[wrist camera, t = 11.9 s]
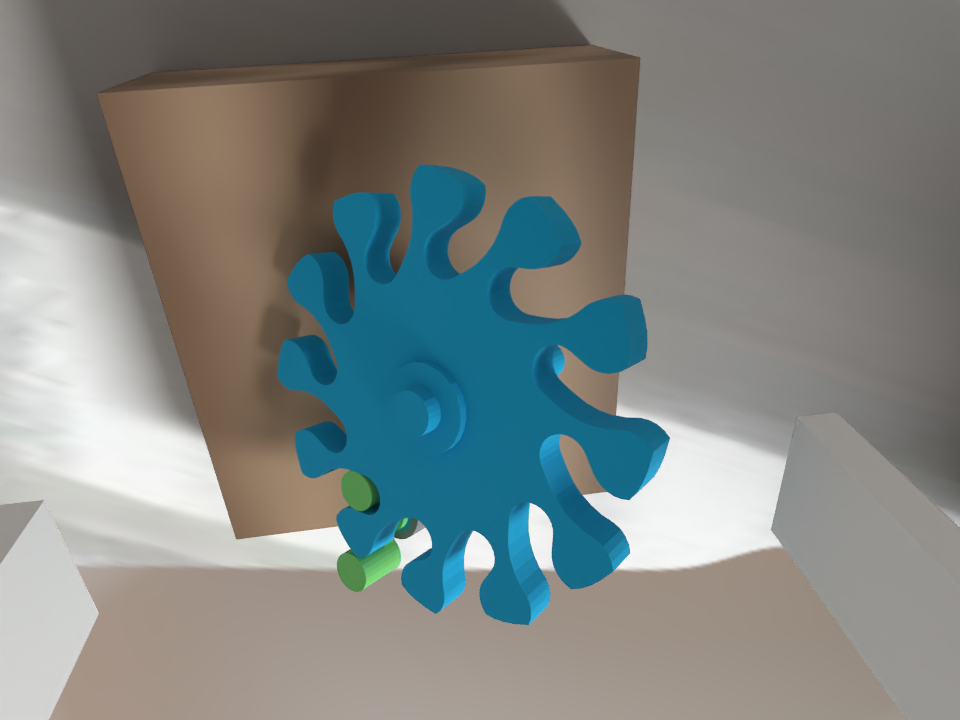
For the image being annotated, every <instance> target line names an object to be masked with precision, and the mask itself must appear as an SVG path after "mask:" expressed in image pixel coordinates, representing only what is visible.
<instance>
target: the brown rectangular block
mask: <svg viewBox="0 0 960 720" xmlns="http://www.w3.org/2000/svg"><path fill="white" fill-rule="evenodd" d="M639 67H640V58H639V57H635V56H632V55H628V54H624V53H620V52H617V51H613V50H609V49H605V48H601V47H598V46H594V45H582V46H566V47H550V48H534V49H518V50H503V51H487V52H471V53H455V54H439V55H424V56H408V57H392V58H376V59H360V60H345V61H329V62H313V63H297V64H281V65H266V66H250V67H234V68H218V69H202V70H187V71H171V72H155V73H150V74H147V75H144V76H142V77H139V78H136V79H134V80H131V81H128V82H126V83H123V84H120V85H118V86H115V87H112V88H110V89H107V90H104V91H102V92H99V93H97V96H98V100H99V103H100V106H101V109H102V112H103V116H104V119H105V122H106V125H107V128H108V132H109V135H110V138H111V141H112V144H113V147H114V151H115V154H116V157H117V160H118V163H119V167H120V170H121V173H122V176H123V179H124V183H125V186H126V189H127V192H128V195H129V199H130V202H131V205H132V208H133V211H134V215H135V218H136V221H137V224H138V227H139V230H140V234H141V237H142V240H143V243H144V246H145V250H146V253H147V256H148V259H149V262H150V266H151V269H152V272H153V275H154V278H155V282H156V285H157V288H158V291H159V294H160V298H161V301H162V304H163V307H164V310H165V313H166V317H167V320H168V323H169V326H170V329H171V333H172V336H173V339H174V342H175V345H176V349H177V352H178V355H179V358H180V361H181V365H182V368H183V371H184V374H185V377H186V380H187V384H188V387H189V390H190V393H191V396H192V400H193V403H194V406H195V409H196V412H197V416H198V419H199V422H200V425H201V428H202V432H203V435H204V438H205V441H206V444H207V448H208V451H209V454H210V457H211V460H212V463H213V467H214V470H215V473H216V476H217V479H218V483H219V486H220V489H221V492H222V495H223V499H224V502H225V505H226V508H227V511H228V515H229V518H230V521H231V524H232V527H233V531H234V534H235V537H236V539H243V538H251V537H258V536H266V535H274V534H282V533H289V532H297V531H305V530H313V529H320V528H328V527H336V526H338V524H337V521H336V517H337V514H338V513H339V511H341V510H342V509H344V508H346V507H348V506H349V505H348V503H347V502H346V500H345V499H344V497H343V494H342V490H341V480H342V477H343V475H344V474H345V473H346V472H348V471H350V470H348V469H341V468H339V469H336V470H334V471H332V472H329V473H327V474H325V475H323V476H320V477H318V478H309V477H306V476H305V475H304V474H302V471H301V468H300V464H299V461H298V456H297V452H296V445H295V433H296V432H297V431H299V430H302V429H304V428H307V427H310V426H313V425H316V424H319V423H322V422H324V421H330V422H333V423H335V424H336V425H338V426H339V427H340V428H341V429H342V430H343V432H344V433H345V434H346V430H345V427H344V425H343V423H342V422H341V420H340V419H339V418H338V417H337V415H336V414H335V413H334V412H333V411H332V410H331V409H330V408H329V407H328V406H327V405H326V404H325V403H324V402H323V401H322V400H320V399H319V398H317V397H316V396H314V395H312V394H310V393H308V392H304V391H293V390H290V389H288V388H286V387H285V386H284V385H283V384H282V383H281V382H280V380H279V379H278V377H277V373H278V361H279V354H280V351H281V347H282V345H283V342H284V340H287V339H292V338H297V337H301V336H306V335H316V336H318V337H320V338H321V339H322V340H323V341H324V342H325V343H326V345H327V346H328V348H329V350H330V353H331V356H332V358H333V361H334V363H335V366H336V368H337V362H336V359H335V356H334V353H333V351H332V348H331V345H330V343H329V341H328V338H327V336H326V334H325V332H324V330H323V329H322V327H321V325H320V324H319V322H318V321H317V320H316V319H315V317H314V316H313V315H312V314H311V313H310V312H309V311H308V310H307V309H306V308H304V307H303V306H301V305H300V304H298V303H297V302H296V301H295V300H294V299H293V297H292V295H291V294H290V291H289V289H288V285H287V279H288V277H289V275H290V273H291V271H292V270H293V268H294V267H295V265H296V264H297V263H298V262H299V261H300V260H301V258H302V257H304V256H306V255H307V254H313V253H325V252H335V253H337V254H338V255H339V256H340V257H341V258H342V259H343V261H344V263H345V265H346V267H347V270H348V276H349V301H350V305H351V307H352V309H353V311H354V309H355V284H354V274H353V268H352V263H351V260H350V257H349V253H348V251H347V249H346V246H345V244H344V242H343V240H342V238H341V237H340V235H339V233H338V232H337V229H336V227H335V224H334V219H333V205H334V201H336V200H338V199H340V198H342V197H344V196H347V195H350V194H353V193H361V192H363V193H392V194H395V195H396V197H397V199H398V201H399V204H400V208H401V223H400V227H399V230H398V232H397V234H396V236H395V238H394V240H393V243H392V245H391V248H390V253H389V258H390V264H391V267H392V269H393V271H394V272H395V274H396V275H397V273H398V271H399V269H400V267H401V265H402V262H403V260H404V258H405V255H406V253H407V250H408V247H409V243H410V238H411V232H412V204H411V197H410V185H411V180H412V177H413V174H414V172H415V170H416V169H417V168H418V166H419V165H420V164H423V165H437V166H447V167H451V168H455V169H459V170H462V171H465V172H467V173H470V174H471V175H473V176H475V177H477V178H478V179H479V180H480V181H481V182H483V183H484V184H485V188H486V197H485V202H484V206H483V208H482V210H481V212H480V214H479V215H478V216H477V217H476V218H475V219H474V220H473V221H471V222H470V223H468V224H466V225H465V226H463V227H461V228H460V229H458V230H457V231H456V232H455V233H454V234H453V235H452V237H451V239H450V242H449V246H448V255H449V259H450V262H451V264H452V266H453V267H454V269H455V270H456V271H457V272H458V273H460V274H461V273H463V272H465V271H467V270H468V269H469V268H471V267H472V266H474V265H475V264H477V263H478V262H479V261H480V260H481V259H482V258H483V257H484V256H485V254H486V253H487V252H488V250H489V249H490V247H491V246H492V245H493V243H494V241H495V239H496V237H497V235H498V233H499V230H500V227H501V224H502V221H503V218H504V215H505V214H506V212H507V210H508V208H509V207H510V206H511V205H512V204H513V203H514V202H516V201H517V200H519V199H521V198H524V197H528V196H551V197H552V198H553V199H554V200H555V201H556V202H557V203H558V205H559V206H560V207H561V208H562V209H563V210H564V211H565V213H566V214H567V215H568V216H569V218H570V219H571V220H572V222H573V224H574V226H575V227H576V229H577V231H578V233H579V236H580V239H581V242H582V244H581V246H580V249H579V251H578V252H577V253H576V255H575V256H574V257H573V258H572V259H571V260H570V261H568V262H566V263H564V264H562V265H558V266H552V267H546V268H540V269H524V268H518V269H517V270H516V271H515V273H514V274H513V276H512V279H511V283H510V292H511V297H512V300H513V302H514V303H515V305H516V306H517V307H518V308H519V309H520V310H521V311H522V312H524V313H526V314H529V315H535V316H540V317H545V318H556V319H560V318H568V317H570V316H572V315H574V314H576V313H577V312H578V311H580V310H581V309H582V308H584V307H585V306H586V305H588V304H590V303H592V302H594V301H597V300H601V299H604V298H608V297H612V296H616V295H624V289H625V274H626V259H627V244H628V230H629V215H630V200H631V185H632V171H633V156H634V141H635V126H636V112H637V97H638V82H639ZM558 347H559V348H560V349H561V350H562V352H563V354H564V358H565V365H564V369H563V371H562V372H561V373H560V374H559V375H558V378H559V379H560V380H561V381H562V382H563V383H564V384H565V385H566V386H567V387H568V388H569V389H570V390H571V391H573V392H574V393H575V394H576V395H577V396H578V397H580V398H581V399H582V400H583V401H585V402H586V403H587V404H589V405H591V406H593V407H595V408H596V409H598V410H600V411H603V412H606V413H608V414H611V415H615V416H616V407H617V392H618V377H619V372H617V373H611V374H605V373H600V372H597V371H595V370H592V369H591V368H589V367H588V366H587V365H585V364H584V363H583V362H582V361H581V360H580V359H578V358H577V357H576V356H575V355H574V354H573V353H572V352H570V351H569V350H568V349H566V348H565V347H562V346H559V345H558ZM560 450H561V454H562V456H563V459H564V461H565V464H566V466H567V469H568V471H569V473H570V475H571V477H572V479H573V482H574V483H575V485H576V487H577V488H578V490H579V491H580V493H581V494H582V495H585V494H592V493H600V492H607V491H606V490H605V489H604V488H603V487H601V485H600V484H599V483H598V481H597V480H596V478H595V476H594V474H593V472H592V469H591V467H590V464H589V462H588V459H587V457H586V454H585V452H584V450H583V449H582V447H581V446H580V445H579V443H578V442H576V441H575V440H574V439H573V438H571V437H569V436H566V435H562V434H561V436H560Z"/></svg>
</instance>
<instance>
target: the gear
mask: <svg viewBox="0 0 960 720" xmlns="http://www.w3.org/2000/svg"><path fill="white" fill-rule="evenodd" d="M410 197H411V204H412V232H411V238H410V243H409V247H408V250H407V253H406V255H405V258H404V260H403V262H402V265H401V267H400V269H399V271H398V273H397V275H396V274H395V272H394V271H393V269H392V267H391V264H390V258H389V253H390V248H391V245H392V243H393V240H394V238H395V236H396V234H397V232H398V230H399V227H400V223H401V208H400V204H399V201H398V199H397V197H396V195H395V194H392V193H363V192H361V193H353V194H350V195H347V196H344V197H342V198H340V199H338V200H336V201H334V205H333V219H334V224H335V227H336V229H337V232H338V233H339V235H340V237H341V238H342V240H343V242H344V244H345V246H346V249H347V251H348V253H349V257H350V260H351V263H352V268H353V274H354V284H355V309H354V311H353V309H352V307H351V305H350V301H349V276H348V270H347V267H346V265H345V263H344V261H343V259H342V258H341V257H340V256H339V255H338V254H337V253H335V252H325V253H313V254H307V255H306V256H304V257H302V258H301V260H300V261H299V262H298V263H297V264H296V265H295V267H294V268H293V270H292V271H291V273H290V275H289V277H288V279H287V285H288V289H289V291H290V294H291V295H292V297H293V299H294V300H295V301H296V302H297V303H298V304H300V305H301V306H303V307H304V308H306V309H307V310H308V311H309V312H310V313H311V314H312V315H313V316H314V317H315V319H316V320H317V321H318V322H319V324H320V325H321V327H322V329H323V330H324V332H325V334H326V336H327V338H328V341H329V343H330V345H331V348H332V351H333V353H334V356H335V359H336V362H337V368H336V366H335V363H334V361H333V358H332V356H331V353H330V350H329V348H328V346H327V345H326V343H325V342H324V341H323V340H322V339H321V338H320V337H318V336H316V335H306V336H301V337H297V338H292V339H287V340H284V342H283V345H282V347H281V351H280V354H279V361H278V373H277V377H278V379H279V380H280V382H281V383H282V384H283V385H284V386H285V387H286V388H288V389H290V390H293V391H304V392H308V393H310V394H312V395H314V396H316V397H317V398H319V399H320V400H322V401H323V402H324V403H325V404H326V405H327V406H328V407H329V408H330V409H331V410H332V411H333V412H334V413H335V414H336V415H337V417H338V418H339V419H340V420H341V422H342V423H343V425H344V427H345V430H346V434H345V433H344V432H343V430H342V429H341V428H340V427H339V426H338V425H336V424H335V423H333V422H330V421H324V422H322V423H319V424H316V425H313V426H310V427H307V428H304V429H302V430H299V431H297V432H296V433H295V445H296V452H297V456H298V461H299V464H300V468H301V471H302V474H304V475H305V476H306V477H309V478H318V477H320V476H323V475H325V474H327V473H329V472H332V471H334V470H336V469H339V468H341V469H348V470H350V471H348V472H346V473H345V474H344V475H343V477H342V480H341V490H342V494H343V497H344V499H345V500H346V502H347V503H348V505H349V506H348V507H346V508H344V509H342V510H341V511H339V513H338V514H337V517H336V521H337V524H338V527H339V529H340V531H341V533H342V535H343V537H344V539H345V540H346V542H347V544H348V545H349V547H350V548H351V549H350V550H349V551H347V552H345V553H343V554H342V555H340V557H339V558H338V561H337V569H338V573H339V576H340V578H341V580H342V582H343V583H344V584H345V586H346V587H348V588H349V589H350V590H352V591H354V592H359V591H361V590H363V589H365V588H366V587H367V586H369V585H371V584H372V583H374V582H375V581H377V580H378V579H380V578H381V577H383V576H384V575H386V574H387V573H389V572H391V571H392V570H394V569H395V568H396V567H398V565H399V564H400V561H401V554H400V550H399V547H398V545H397V543H396V541H395V540H394V537H395V538H398V539H406V538H408V537H410V536H412V535H414V534H415V533H417V532H418V531H420V530H422V529H423V528H425V527H426V528H427V530H428V532H429V533H430V536H431V539H432V548H431V549H429V550H428V551H426V552H425V553H423V554H422V555H420V556H419V557H417V558H416V559H414V560H413V561H411V562H410V563H408V564H407V565H406V566H405V567H404V569H403V571H402V577H401V580H402V585H403V587H404V588H405V589H406V590H407V592H408V593H409V594H410V595H411V596H413V598H414V599H416V600H417V601H418V602H419V603H421V604H422V605H423V606H425V607H426V608H428V609H429V610H430V611H432V612H433V613H435V614H436V613H438V612H439V611H441V610H442V609H443V608H444V607H445V606H447V605H448V604H449V603H451V602H452V601H453V600H454V599H456V598H457V597H458V596H459V595H461V593H462V592H463V591H464V588H465V580H466V579H465V572H464V554H465V547H466V544H467V542H468V539H469V537H470V535H471V533H472V532H473V531H476V532H478V533H480V534H482V535H483V536H484V537H485V538H486V539H487V540H488V541H489V543H490V545H491V546H492V549H493V551H494V556H495V563H494V567H493V569H492V571H491V572H490V573H489V574H488V576H487V577H486V578H485V579H484V581H483V583H482V584H481V587H480V600H481V604H482V607H483V609H484V611H485V613H486V614H487V615H489V616H490V617H492V618H494V619H497V620H500V621H503V622H507V623H512V624H523V625H529V624H530V623H531V622H532V621H533V620H534V619H535V618H536V617H537V616H538V615H539V614H540V613H541V612H542V611H543V610H544V609H545V608H546V607H547V606H548V603H549V601H550V589H549V585H548V582H547V580H546V578H545V576H544V574H543V573H542V571H541V569H540V568H539V566H538V563H537V561H536V559H535V557H534V554H533V551H532V547H531V544H530V538H529V531H528V518H529V505H530V503H532V504H535V505H537V506H538V507H540V508H541V509H542V510H543V511H544V512H545V513H546V514H547V516H548V517H549V519H550V521H551V523H552V527H553V543H552V561H553V566H554V568H555V570H556V572H557V574H558V575H559V577H560V579H561V580H562V581H563V582H564V583H565V584H566V585H567V586H568V587H570V588H571V589H579V588H584V587H587V586H590V585H593V584H594V583H596V582H598V581H600V580H602V579H603V578H604V577H606V576H607V575H609V574H610V573H612V572H613V571H614V570H615V569H616V568H617V567H618V566H619V565H620V563H621V562H622V561H623V560H624V559H625V558H626V557H627V556H628V555H629V554H630V549H629V544H628V541H627V539H626V537H625V535H624V534H623V532H622V531H621V529H620V528H619V527H618V526H616V525H615V524H614V523H613V522H612V521H610V520H609V519H607V518H606V517H604V516H603V515H601V514H600V513H599V512H598V511H597V510H596V509H595V508H593V507H592V506H591V505H590V504H589V502H588V501H587V500H586V499H585V498H584V497H583V495H582V494H581V493H580V491H579V490H578V488H577V487H576V485H575V483H574V482H573V479H572V477H571V475H570V473H569V471H568V469H567V466H566V464H565V461H564V459H563V456H562V454H561V450H560V436H561V434H562V435H566V436H569V437H571V438H573V439H574V440H575V441H576V442H578V443H579V445H580V446H581V447H582V449H583V450H584V452H585V454H586V457H587V459H588V462H589V464H590V467H591V469H592V472H593V474H594V476H595V478H596V480H597V481H598V483H599V484H600V485H601V487H603V488H604V489H605V490H606V491H607V492H608V493H610V494H612V495H613V496H615V497H618V498H620V499H625V500H630V499H631V498H632V497H633V496H634V495H635V494H636V493H637V492H638V491H639V490H641V489H642V488H643V487H644V486H645V485H646V484H647V483H648V482H649V481H650V480H651V479H652V478H653V477H654V476H655V474H656V472H657V471H658V469H659V468H660V465H661V463H662V461H663V458H664V456H665V453H666V450H667V446H668V443H669V440H670V438H669V436H668V435H667V434H666V432H665V431H664V430H663V429H662V428H661V427H660V426H658V425H657V424H655V423H653V422H652V421H650V420H646V419H642V418H625V417H620V416H615V415H611V414H608V413H606V412H603V411H600V410H598V409H596V408H595V407H593V406H591V405H589V404H587V403H586V402H585V401H583V400H582V399H581V398H580V397H578V396H577V395H576V394H575V393H574V392H573V391H571V390H570V389H569V388H568V387H567V386H566V385H565V384H564V383H563V382H562V381H561V380H560V379H559V378H558V375H559V374H560V373H561V372H562V371H563V369H564V365H565V358H564V354H563V352H562V350H561V349H560V348H559V347H558V345H559V346H562V347H565V348H566V349H568V350H569V351H570V352H572V353H573V354H574V355H575V356H576V357H577V358H578V359H580V360H581V361H582V362H583V363H584V364H585V365H587V366H588V367H589V368H591V369H592V370H595V371H597V372H600V373H605V374H611V373H617V372H620V371H623V370H625V369H627V368H629V367H631V366H632V365H634V364H636V363H638V362H640V361H642V360H644V359H645V357H646V352H647V329H646V322H645V317H644V313H643V309H642V305H641V301H640V299H638V298H636V297H634V296H630V295H616V296H612V297H608V298H604V299H601V300H597V301H594V302H592V303H590V304H588V305H586V306H585V307H584V308H582V309H581V310H580V311H578V312H577V313H576V314H574V315H572V316H570V317H568V318H560V319H556V318H545V317H540V316H535V315H529V314H526V313H524V312H522V311H521V310H520V309H519V308H518V307H517V306H516V305H515V303H514V302H513V300H512V297H511V292H510V283H511V279H512V276H513V274H514V273H515V271H516V270H517V269H518V268H524V269H540V268H546V267H552V266H558V265H562V264H564V263H566V262H568V261H570V260H571V259H572V258H573V257H574V256H575V255H576V253H577V252H578V251H579V249H580V246H581V244H582V242H581V239H580V236H579V233H578V231H577V229H576V227H575V226H574V224H573V222H572V220H571V219H570V218H569V216H568V215H567V214H566V213H565V211H564V210H563V209H562V208H561V207H560V206H559V205H558V203H557V202H556V201H555V200H554V199H553V198H552V197H551V196H528V197H524V198H521V199H519V200H517V201H516V202H514V203H513V204H512V205H511V206H510V207H509V208H508V210H507V212H506V214H505V215H504V218H503V221H502V224H501V227H500V230H499V233H498V235H497V237H496V239H495V241H494V243H493V245H492V246H491V247H490V249H489V250H488V252H487V253H486V254H485V256H484V257H483V258H482V259H481V260H480V261H479V262H478V263H477V264H475V265H474V266H472V267H471V268H469V269H468V270H467V271H465V272H463V273H461V274H460V273H458V272H457V271H456V270H455V269H454V267H453V266H452V264H451V262H450V259H449V255H448V246H449V242H450V239H451V237H452V235H453V234H454V233H455V232H456V231H457V230H458V229H460V228H461V227H463V226H465V225H466V224H468V223H470V222H471V221H473V220H474V219H475V218H476V217H477V216H478V215H479V214H480V212H481V210H482V208H483V206H484V202H485V197H486V188H485V184H484V183H483V182H481V181H480V180H479V179H478V178H477V177H475V176H473V175H471V174H470V173H467V172H465V171H462V170H459V169H455V168H451V167H447V166H437V165H423V164H420V165H419V166H418V168H417V169H416V170H415V172H414V174H413V177H412V180H411V185H410Z"/></svg>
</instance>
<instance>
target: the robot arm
mask: <svg viewBox="0 0 960 720" xmlns="http://www.w3.org/2000/svg"><path fill="white" fill-rule="evenodd" d="M771 530H772V532H773V533H774V534H775V536H776V537H777V539H778V540H779V541H780V543H781V544H782V546H783V547H784V548H785V550H786V551H787V553H788V554H789V555H790V557H791V558H792V560H793V561H794V562H795V564H796V565H797V567H798V568H799V569H800V571H801V572H802V573H803V575H804V576H805V578H806V579H807V580H808V582H809V584H810V585H811V586H812V588H813V589H814V591H815V592H816V593H817V595H818V596H819V598H820V599H821V600H822V602H823V603H824V605H825V606H826V607H827V609H828V610H829V612H830V613H831V614H832V616H833V617H834V619H835V620H836V622H837V623H838V624H839V626H840V627H841V629H842V630H843V631H844V633H845V634H846V636H847V637H848V638H849V640H850V641H851V643H852V644H853V645H854V647H855V648H856V649H857V651H858V652H859V654H860V655H861V657H862V658H863V659H864V661H865V662H866V664H867V665H868V667H869V668H870V669H871V671H872V672H873V674H874V675H875V676H876V678H877V679H878V681H879V682H880V683H881V685H882V686H883V688H884V689H885V690H886V692H887V693H888V694H889V696H890V697H891V699H892V700H893V702H894V703H895V704H896V706H897V707H898V709H899V710H900V711H901V713H902V714H903V716H904V717H905V719H906V720H960V528H959V527H958V526H957V525H956V524H955V523H954V522H953V521H952V520H951V519H950V518H949V517H948V516H946V515H945V514H944V513H943V512H942V511H941V510H940V509H939V508H938V507H937V506H936V505H935V504H934V503H933V502H932V501H930V500H929V499H928V498H927V497H926V496H925V495H924V494H923V493H922V492H921V491H920V490H919V489H918V488H917V487H916V486H914V485H913V484H912V483H911V482H910V481H909V480H908V479H907V478H906V477H905V476H904V475H903V474H902V473H901V472H900V471H898V470H897V469H896V468H895V467H894V466H893V465H892V464H891V463H890V462H889V461H888V460H887V459H886V458H885V457H884V456H882V455H881V454H880V453H879V452H878V451H877V450H876V449H875V448H874V447H873V446H872V445H871V444H870V443H869V442H868V441H866V440H865V439H864V438H863V437H862V436H861V435H860V434H859V433H858V432H857V431H856V430H855V429H854V428H853V427H852V426H850V425H849V424H848V423H847V422H846V421H845V420H844V419H843V418H842V417H841V416H840V415H839V414H838V413H837V412H836V413H827V414H818V415H809V416H800V417H797V418H796V422H795V427H794V431H793V435H792V440H791V444H790V449H789V453H788V458H787V462H786V466H785V471H784V475H783V480H782V484H781V488H780V493H779V497H778V502H777V506H776V511H775V515H774V519H773V524H772V528H771ZM98 614H99V613H98V611H97V609H96V607H95V604H94V602H93V600H92V598H91V596H90V594H89V592H88V590H87V588H86V586H85V584H84V582H83V580H82V578H81V576H80V573H79V571H78V569H77V567H76V565H75V563H74V561H73V559H72V557H71V555H70V553H69V551H68V549H67V546H66V544H65V542H64V540H63V538H62V536H61V534H60V532H59V530H58V528H57V526H56V524H55V522H54V520H53V518H52V515H51V513H50V511H49V509H48V507H47V505H46V503H45V501H44V500H41V501H32V502H23V503H14V504H5V505H0V720H49V718H50V716H51V714H52V712H53V710H54V708H55V705H56V703H57V701H58V699H59V697H60V695H61V693H62V690H63V688H64V686H65V684H66V682H67V680H68V678H69V676H70V673H71V671H72V669H73V667H74V665H75V663H76V661H77V658H78V657H79V655H80V652H81V650H82V648H83V646H84V644H85V642H86V640H87V638H88V635H89V633H90V631H91V629H92V627H93V625H94V623H95V621H96V618H97V616H98Z"/></svg>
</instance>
